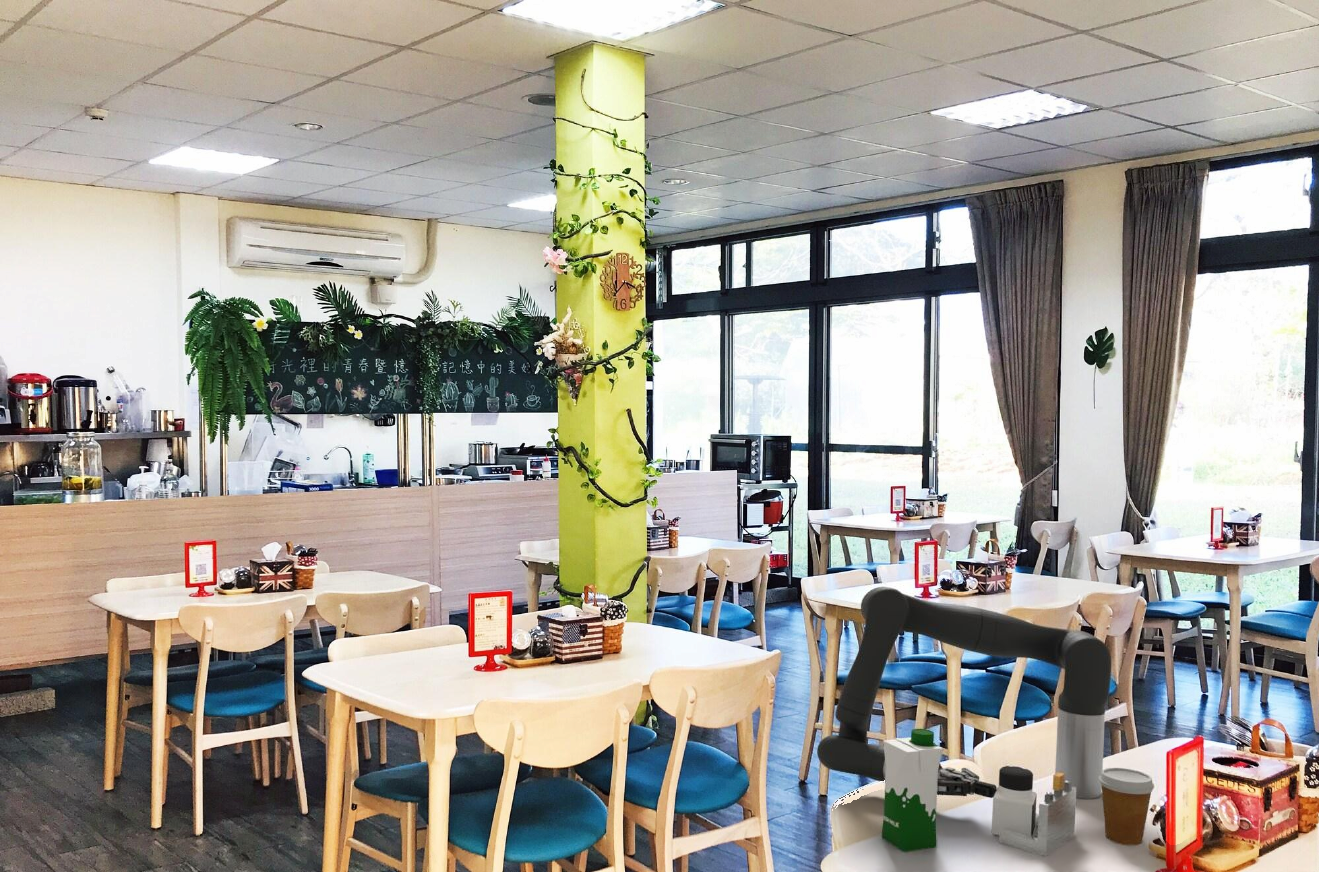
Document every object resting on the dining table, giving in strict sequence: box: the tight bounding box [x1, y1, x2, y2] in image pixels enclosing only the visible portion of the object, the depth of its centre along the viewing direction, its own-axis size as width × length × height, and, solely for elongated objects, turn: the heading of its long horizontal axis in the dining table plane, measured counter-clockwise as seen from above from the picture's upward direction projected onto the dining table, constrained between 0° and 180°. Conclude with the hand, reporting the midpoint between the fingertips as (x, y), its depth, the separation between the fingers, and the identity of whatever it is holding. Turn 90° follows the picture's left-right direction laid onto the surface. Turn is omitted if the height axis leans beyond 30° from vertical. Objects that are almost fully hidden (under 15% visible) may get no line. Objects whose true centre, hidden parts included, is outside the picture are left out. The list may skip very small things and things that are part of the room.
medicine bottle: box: [991, 764, 1038, 837], centre depth 210 cm, size 7×7×12 cm
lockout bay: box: [999, 772, 1077, 857], centre depth 207 cm, size 14×9×13 cm, turn 140°
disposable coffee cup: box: [1099, 767, 1155, 846], centre depth 209 cm, size 10×10×12 cm
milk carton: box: [881, 728, 944, 853], centre depth 203 cm, size 9×9×20 cm
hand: (994, 791), depth 212 cm, fingers closed
